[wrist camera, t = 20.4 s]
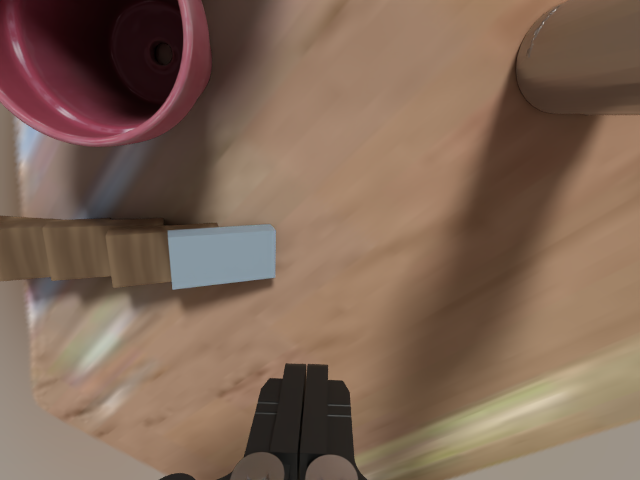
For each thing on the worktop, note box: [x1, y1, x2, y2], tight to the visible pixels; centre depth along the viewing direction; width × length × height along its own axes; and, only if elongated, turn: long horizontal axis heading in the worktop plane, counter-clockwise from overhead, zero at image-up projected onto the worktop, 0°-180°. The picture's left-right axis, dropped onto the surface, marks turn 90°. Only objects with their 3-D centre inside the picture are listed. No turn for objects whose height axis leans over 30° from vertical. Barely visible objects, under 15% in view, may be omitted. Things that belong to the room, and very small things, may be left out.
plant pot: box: [0, 0, 212, 147], centre depth 27 cm, size 14×14×13 cm
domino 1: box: [0, 218, 111, 281], centre depth 37 cm, size 2×5×10 cm
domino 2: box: [42, 218, 164, 281], centre depth 36 cm, size 2×5×10 cm
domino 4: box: [168, 224, 276, 290], centre depth 36 cm, size 2×5×10 cm
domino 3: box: [106, 223, 218, 288], centre depth 36 cm, size 2×5×10 cm
